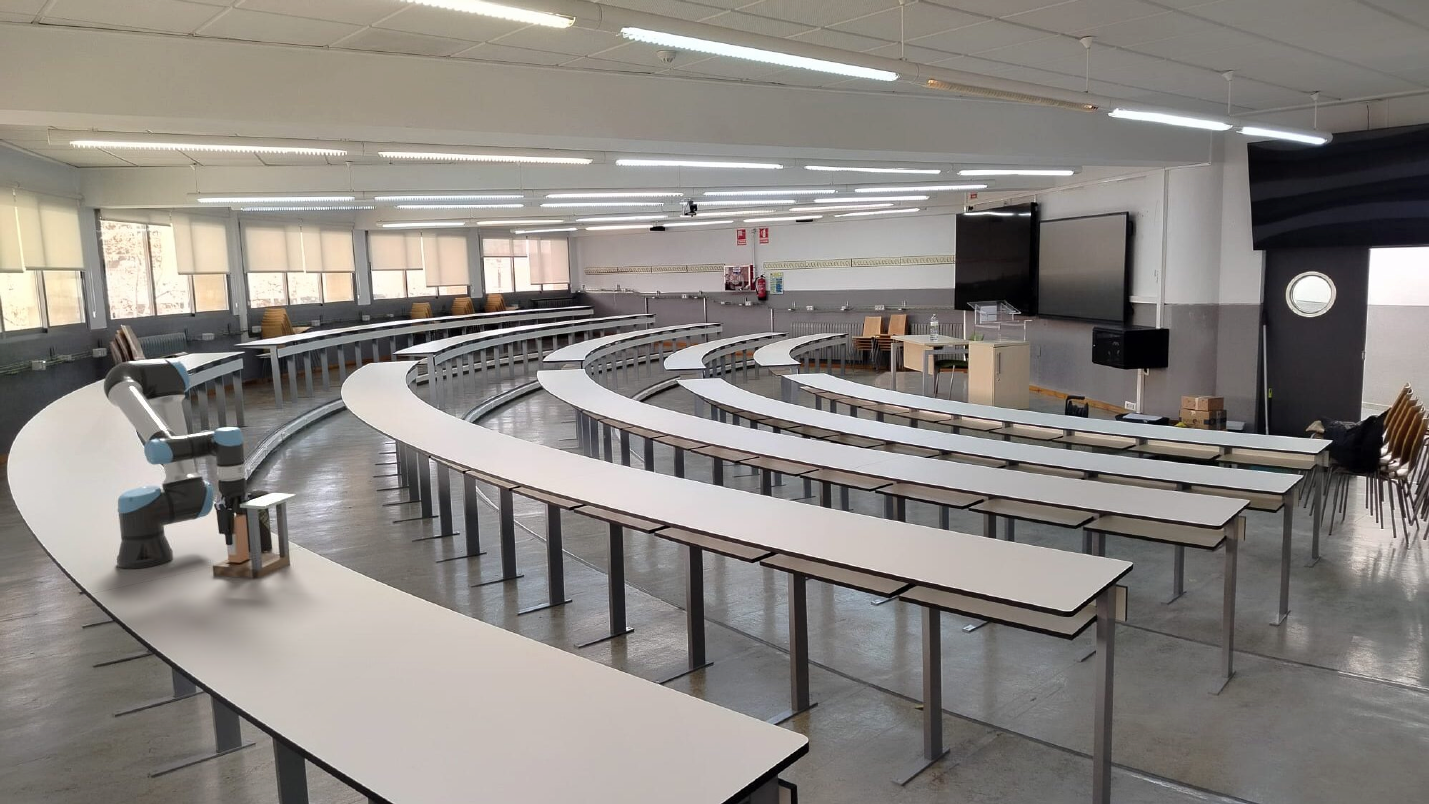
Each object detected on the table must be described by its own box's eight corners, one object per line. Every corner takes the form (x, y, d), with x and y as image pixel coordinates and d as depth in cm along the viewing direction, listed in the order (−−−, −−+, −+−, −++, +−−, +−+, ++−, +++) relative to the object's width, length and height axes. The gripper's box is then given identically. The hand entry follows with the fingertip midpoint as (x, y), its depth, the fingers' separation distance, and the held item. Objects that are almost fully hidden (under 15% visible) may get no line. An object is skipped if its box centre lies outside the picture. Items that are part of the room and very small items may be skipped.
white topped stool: (245, 577, 269) (239, 504, 265) (277, 563, 282) (272, 492, 279) (269, 580, 267) (264, 506, 264) (301, 565, 280) (296, 494, 277)
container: (261, 555, 290) (256, 495, 287) (237, 553, 292) (232, 494, 289) (279, 547, 299) (274, 489, 296) (255, 545, 300) (251, 487, 297)
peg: (228, 561, 273) (224, 517, 271) (238, 557, 277) (234, 514, 275) (239, 562, 272) (236, 518, 270) (249, 558, 276) (245, 514, 274)
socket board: (213, 575, 271) (212, 565, 271) (246, 560, 285) (246, 551, 284) (258, 579, 268) (257, 569, 267) (290, 564, 281) (289, 555, 281)
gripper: (221, 485, 262) (227, 561, 265) (262, 472, 278) (268, 544, 281) (199, 484, 263) (206, 559, 267) (241, 471, 280) (247, 543, 283)
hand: (238, 551), depth 274 cm, fingers closed on peg, 4 cm apart
